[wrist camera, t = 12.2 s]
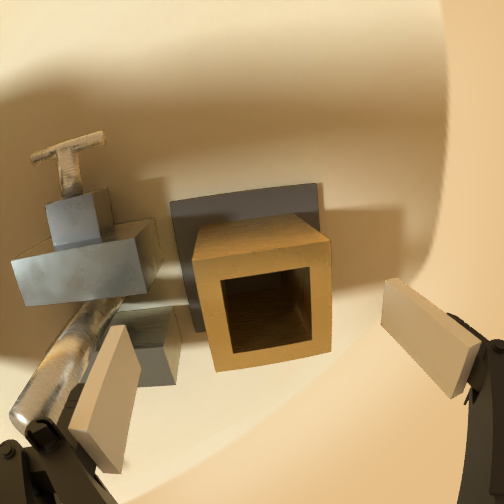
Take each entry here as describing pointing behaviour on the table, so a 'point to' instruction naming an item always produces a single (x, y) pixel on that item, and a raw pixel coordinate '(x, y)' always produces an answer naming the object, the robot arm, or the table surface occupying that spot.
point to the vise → (91, 288)
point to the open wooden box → (264, 290)
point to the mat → (230, 209)
